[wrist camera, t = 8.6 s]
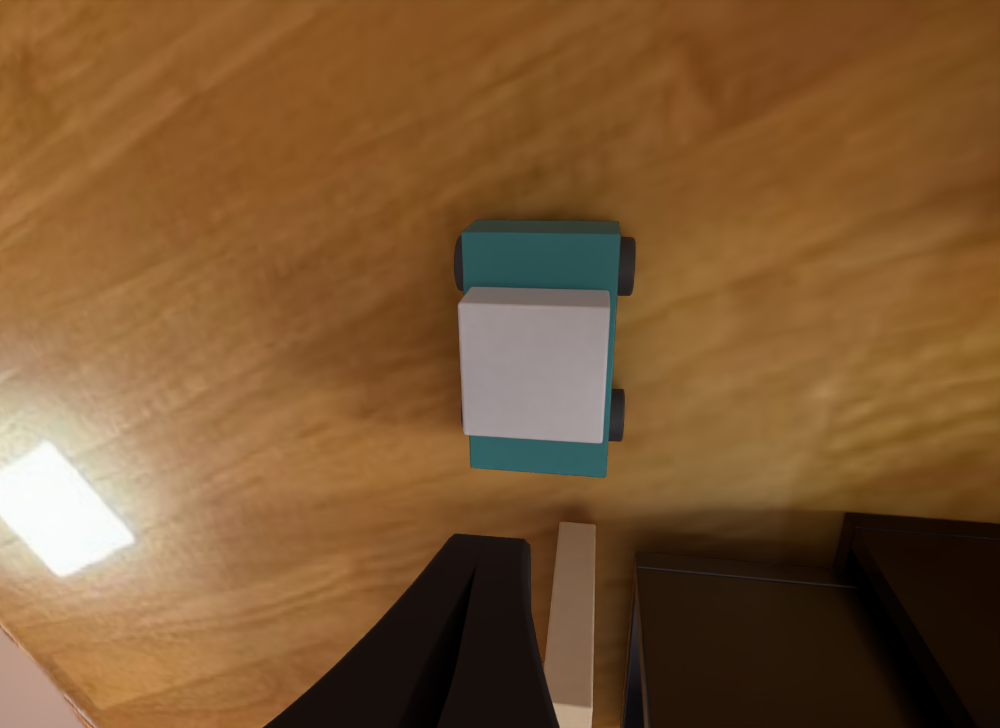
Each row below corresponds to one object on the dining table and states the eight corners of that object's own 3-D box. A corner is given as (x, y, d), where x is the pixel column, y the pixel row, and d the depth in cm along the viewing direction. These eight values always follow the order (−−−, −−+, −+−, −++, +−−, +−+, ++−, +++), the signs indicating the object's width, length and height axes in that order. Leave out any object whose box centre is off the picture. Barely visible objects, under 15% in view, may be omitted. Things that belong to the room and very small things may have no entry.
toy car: (464, 216, 18) (426, 243, 14) (634, 218, 17) (644, 247, 13) (472, 427, 20) (442, 498, 16) (619, 436, 19) (624, 513, 16)
